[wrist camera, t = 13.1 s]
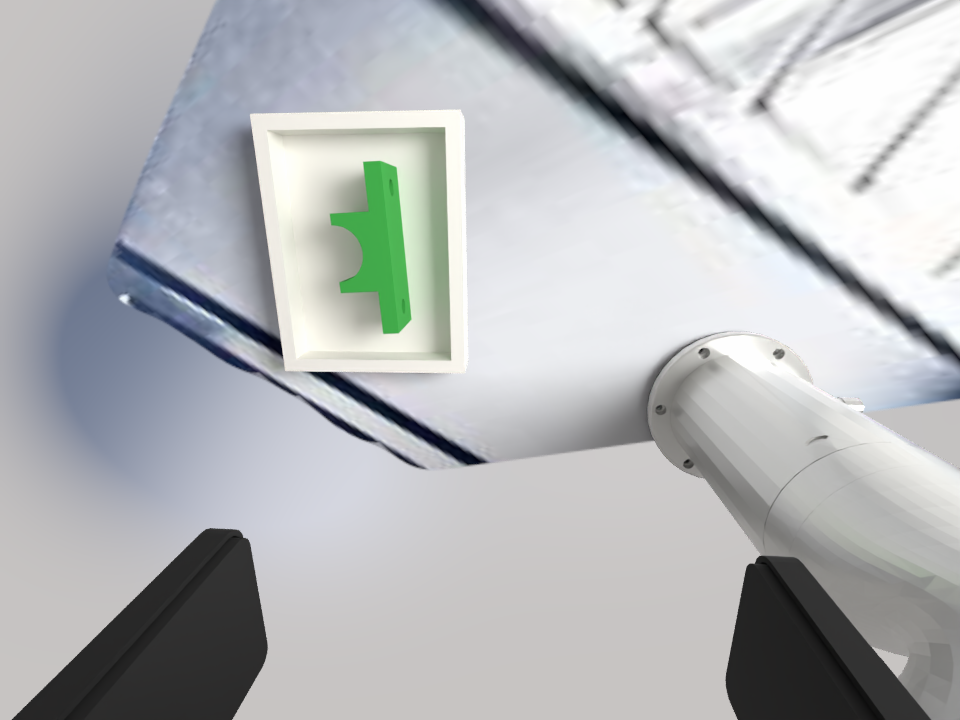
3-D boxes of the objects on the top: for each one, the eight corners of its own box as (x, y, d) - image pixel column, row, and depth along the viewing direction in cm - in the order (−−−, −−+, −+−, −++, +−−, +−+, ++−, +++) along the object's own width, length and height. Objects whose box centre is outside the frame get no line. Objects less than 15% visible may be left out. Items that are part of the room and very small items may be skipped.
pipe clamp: (346, 170, 34) (322, 163, 30) (397, 167, 34) (380, 159, 29) (365, 322, 37) (346, 336, 33) (411, 320, 37) (398, 333, 33)
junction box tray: (464, 118, 33) (460, 109, 30) (468, 361, 39) (464, 373, 36) (271, 122, 34) (249, 113, 31) (301, 359, 39) (285, 371, 37)
